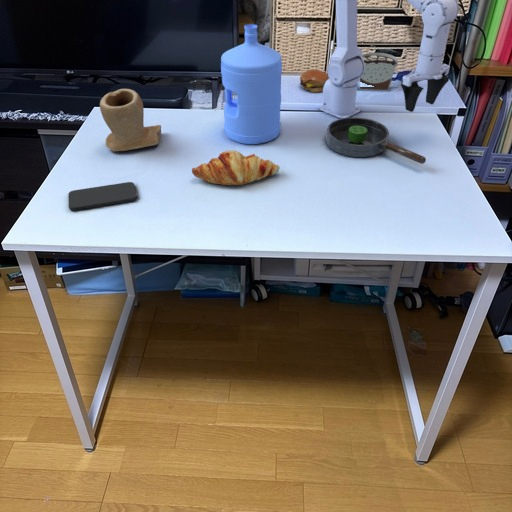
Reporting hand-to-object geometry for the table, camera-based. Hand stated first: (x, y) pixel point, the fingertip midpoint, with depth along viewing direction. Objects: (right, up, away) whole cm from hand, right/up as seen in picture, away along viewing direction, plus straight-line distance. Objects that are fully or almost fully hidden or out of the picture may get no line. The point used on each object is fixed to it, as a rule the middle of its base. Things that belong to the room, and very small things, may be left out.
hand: (419, 106), depth 128 cm
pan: (-15, -8, +6) cm, 18 cm away
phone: (-78, -25, -13) cm, 83 cm away
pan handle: (-5, -14, -4) cm, 15 cm away
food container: (-4, +17, +34) cm, 38 cm away
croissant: (-47, -20, -7) cm, 51 cm away
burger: (-23, +17, +34) cm, 44 cm away
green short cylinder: (-15, -8, +5) cm, 18 cm away
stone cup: (-75, -9, +6) cm, 75 cm away
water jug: (-43, -4, +11) cm, 45 cm away
